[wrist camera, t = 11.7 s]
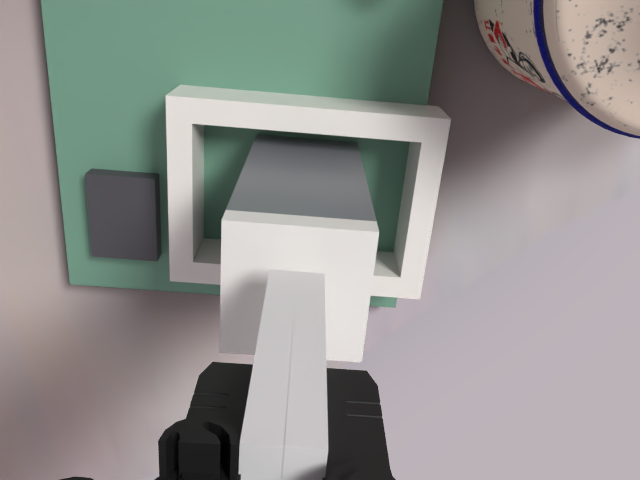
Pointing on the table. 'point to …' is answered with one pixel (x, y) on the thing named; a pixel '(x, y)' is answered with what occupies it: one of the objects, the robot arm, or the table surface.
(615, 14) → the teacup with lid
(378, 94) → the board
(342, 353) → the plug
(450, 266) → the table surface
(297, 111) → the header
